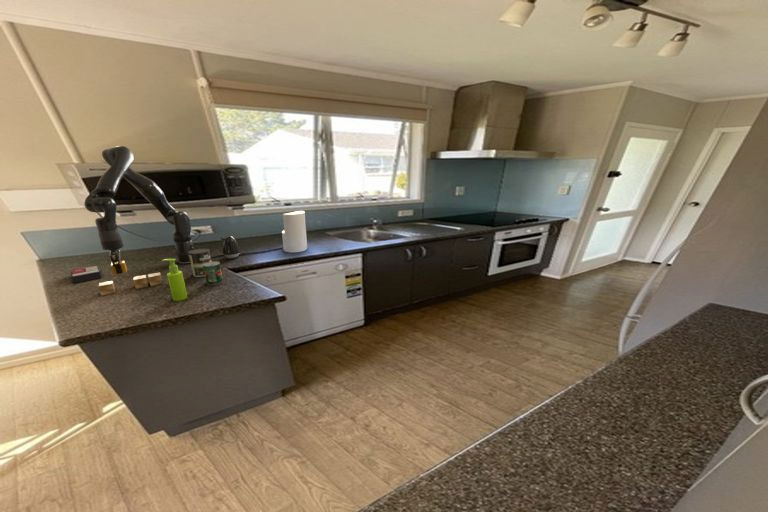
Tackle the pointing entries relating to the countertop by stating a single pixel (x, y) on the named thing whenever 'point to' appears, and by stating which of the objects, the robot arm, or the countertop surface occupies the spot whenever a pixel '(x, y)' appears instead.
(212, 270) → the canned tomato
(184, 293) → the soap dispenser
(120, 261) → the mustard block
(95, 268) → the red and grey box
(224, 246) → the dark ribbed dome
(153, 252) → the countertop surface
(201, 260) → the coffee can
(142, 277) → the maple block middle
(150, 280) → the maple block
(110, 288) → the maple block
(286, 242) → the cylinder
